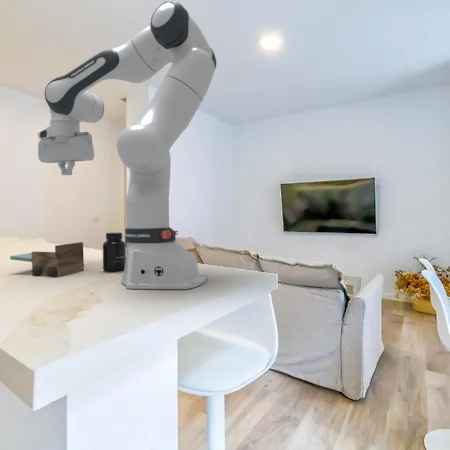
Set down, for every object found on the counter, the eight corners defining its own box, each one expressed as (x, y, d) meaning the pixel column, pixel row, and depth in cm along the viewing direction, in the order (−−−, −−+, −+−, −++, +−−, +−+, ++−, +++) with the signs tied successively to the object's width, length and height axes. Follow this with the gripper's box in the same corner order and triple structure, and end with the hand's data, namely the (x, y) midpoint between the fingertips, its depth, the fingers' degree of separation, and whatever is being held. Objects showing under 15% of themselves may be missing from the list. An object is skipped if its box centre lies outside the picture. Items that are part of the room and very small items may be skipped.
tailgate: (57, 253, 101) (38, 251, 103) (31, 258, 92) (10, 256, 94) (57, 258, 101) (38, 256, 103) (30, 263, 92) (10, 261, 94)
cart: (85, 269, 99) (84, 241, 99) (56, 277, 88) (55, 246, 88) (61, 268, 102) (60, 241, 102) (30, 275, 91) (28, 245, 90)
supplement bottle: (121, 272, 94) (120, 233, 94) (99, 272, 94) (98, 233, 94) (129, 268, 101) (128, 231, 100) (108, 268, 101) (107, 232, 101)
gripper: (97, 133, 104) (99, 174, 105) (49, 137, 110) (50, 177, 111) (84, 128, 98) (85, 172, 99) (33, 133, 104) (35, 175, 104)
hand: (66, 175), depth 105 cm, fingers closed
